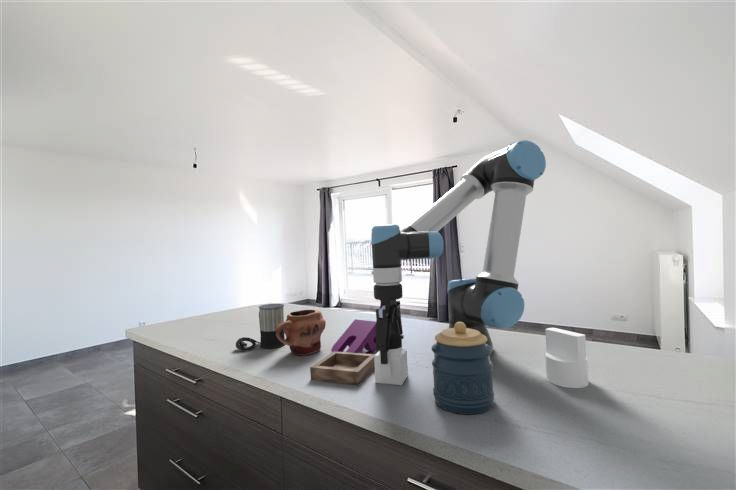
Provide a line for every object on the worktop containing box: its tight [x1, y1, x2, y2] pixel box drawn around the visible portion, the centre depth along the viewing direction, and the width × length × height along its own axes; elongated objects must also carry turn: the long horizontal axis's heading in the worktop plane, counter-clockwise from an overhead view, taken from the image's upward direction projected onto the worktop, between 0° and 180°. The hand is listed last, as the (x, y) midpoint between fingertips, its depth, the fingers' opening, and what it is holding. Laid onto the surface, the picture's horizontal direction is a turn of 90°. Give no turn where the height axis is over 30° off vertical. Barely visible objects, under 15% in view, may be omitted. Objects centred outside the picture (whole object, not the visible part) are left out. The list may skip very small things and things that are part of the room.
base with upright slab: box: [544, 327, 589, 389], centre depth 84 cm, size 9×9×12 cm
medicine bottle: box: [374, 332, 409, 386], centre depth 90 cm, size 7×7×12 cm
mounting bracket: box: [330, 319, 377, 353], centre depth 114 cm, size 10×8×18 cm
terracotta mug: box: [276, 309, 326, 356], centre depth 116 cm, size 20×12×14 cm, turn 145°
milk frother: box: [235, 303, 286, 351], centre depth 125 cm, size 14×16×15 cm
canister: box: [431, 322, 495, 415], centre depth 76 cm, size 13×13×18 cm
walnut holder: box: [309, 351, 376, 386], centre depth 96 cm, size 14×14×3 cm
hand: (391, 369), depth 90 cm, fingers open, 9 cm apart
